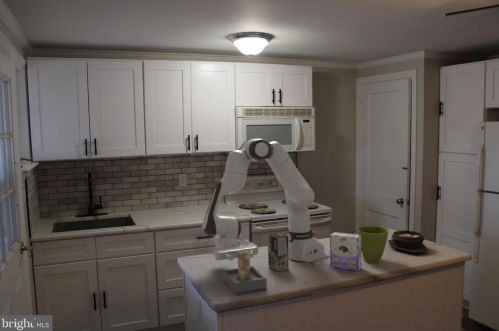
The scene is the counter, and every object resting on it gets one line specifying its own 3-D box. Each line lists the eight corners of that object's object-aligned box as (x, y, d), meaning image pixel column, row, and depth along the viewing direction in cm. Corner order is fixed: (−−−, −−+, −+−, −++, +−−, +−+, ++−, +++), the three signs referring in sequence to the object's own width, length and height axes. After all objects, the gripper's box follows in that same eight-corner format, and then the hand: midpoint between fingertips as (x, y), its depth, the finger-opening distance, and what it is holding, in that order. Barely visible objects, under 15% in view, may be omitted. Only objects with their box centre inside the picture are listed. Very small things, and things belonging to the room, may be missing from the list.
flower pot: (374, 254, 216) (374, 224, 215) (394, 262, 203) (395, 231, 201) (351, 258, 210) (351, 227, 209) (370, 267, 197) (370, 235, 195)
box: (252, 276, 188) (252, 266, 188) (266, 289, 173) (266, 278, 173) (223, 281, 183) (223, 270, 183) (235, 295, 168) (235, 283, 168)
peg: (247, 281, 181) (246, 250, 179) (250, 284, 177) (249, 252, 176) (238, 282, 179) (237, 251, 178) (241, 285, 176) (240, 253, 174)
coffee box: (289, 269, 197) (288, 236, 196) (278, 271, 194) (277, 238, 192) (278, 263, 205) (278, 232, 203) (267, 266, 202) (267, 234, 200)
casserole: (379, 244, 234) (379, 229, 233) (408, 241, 239) (408, 226, 238) (406, 257, 210) (407, 241, 209) (437, 253, 215) (438, 238, 214)
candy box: (361, 268, 196) (361, 234, 195) (358, 272, 191) (358, 237, 190) (333, 263, 203) (333, 231, 202) (329, 267, 198) (329, 234, 197)
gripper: (209, 244, 188) (218, 253, 175) (251, 239, 196) (262, 246, 183) (210, 257, 189) (219, 267, 176) (251, 251, 196) (263, 260, 184)
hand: (241, 256), depth 180 cm, fingers open, 8 cm apart
